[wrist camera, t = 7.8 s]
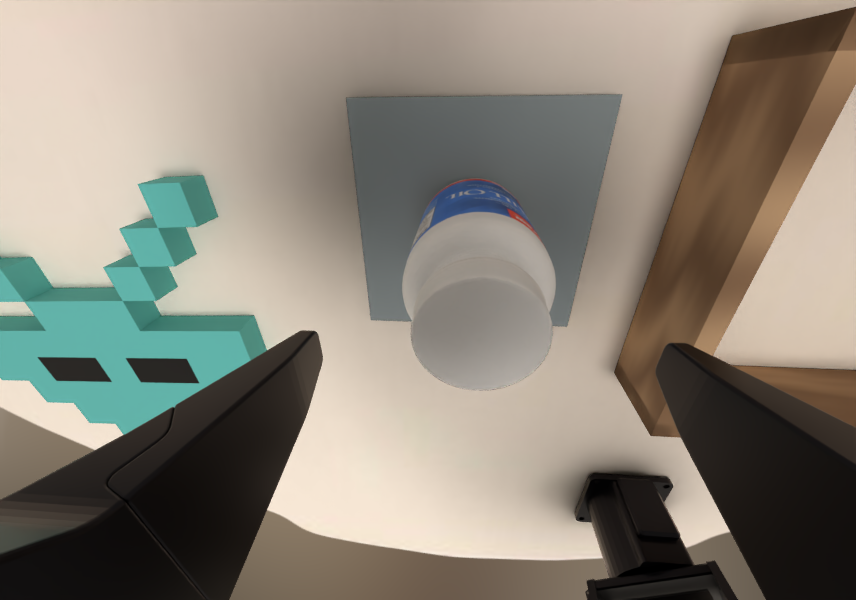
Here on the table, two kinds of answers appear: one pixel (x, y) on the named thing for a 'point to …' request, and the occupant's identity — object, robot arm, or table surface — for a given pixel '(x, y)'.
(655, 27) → the table surface
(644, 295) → the walnut box
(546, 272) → the pill bottle
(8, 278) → the alien figure
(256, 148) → the table surface
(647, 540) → the robot arm
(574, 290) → the slate mat
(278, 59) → the table surface
